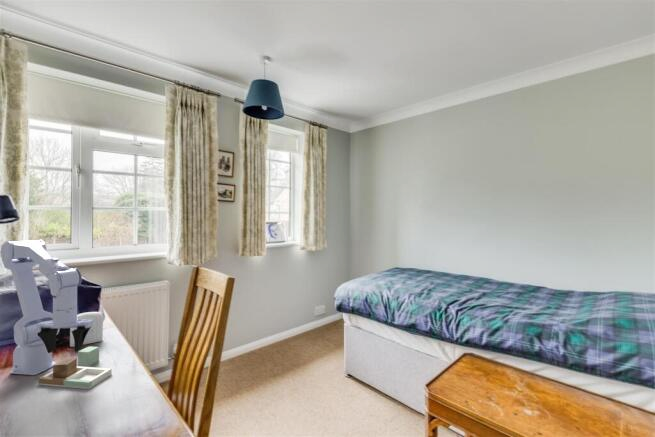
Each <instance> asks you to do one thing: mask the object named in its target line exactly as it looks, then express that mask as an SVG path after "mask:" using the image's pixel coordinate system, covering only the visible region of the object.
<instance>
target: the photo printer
mask: <svg viewBox="0 0 655 437" xmlns="http://www.w3.org/2000/svg"><path fill="white" fill-rule="evenodd" d="M77 319H84V320H92V326H91V328H90V330H89V331H88V333H87V335H86V337H85V339H84V342H83V346H85V345H89V344H94V343H98V342H102V341H103V336H104V335H103V332H104V328H103V327H104V323H103V322H104V317H103V314H102V312H101V311H88V312H82V313H77ZM75 329H77V328H70V333H69V337H70V344H69V347H71V348H75V342H74V337H73V334H72V331H73V330H75Z"/></svg>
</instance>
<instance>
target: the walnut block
mask: <svg viewBox="0 0 655 437" xmlns="http://www.w3.org/2000/svg"><path fill="white" fill-rule="evenodd" d="M56 362H57V363H56V364H54V365H53V367H52V372H53V378H67V377H69V376H71V375H73V374H75V373H76V372H77V366H78V357H77V358H76V357H74V358H62V359H61V360H59V361H56Z"/></svg>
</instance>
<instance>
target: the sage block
mask: <svg viewBox="0 0 655 437" xmlns="http://www.w3.org/2000/svg"><path fill="white" fill-rule="evenodd" d="M99 361H100V347H99V346H91V345H90V346H87V347H85V348H82V349H81V350H79V351H77V366H82V367H92V365H94V364H96V363H98V362H99Z"/></svg>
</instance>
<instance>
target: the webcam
mask: <svg viewBox="0 0 655 437" xmlns="http://www.w3.org/2000/svg"><path fill="white" fill-rule="evenodd" d="M68 334H69V335H70V328H60V330H59V332H58V334H57V336H56V348H60V347H64V346H68V345H70V336H68ZM66 336H67V337H66Z"/></svg>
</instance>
